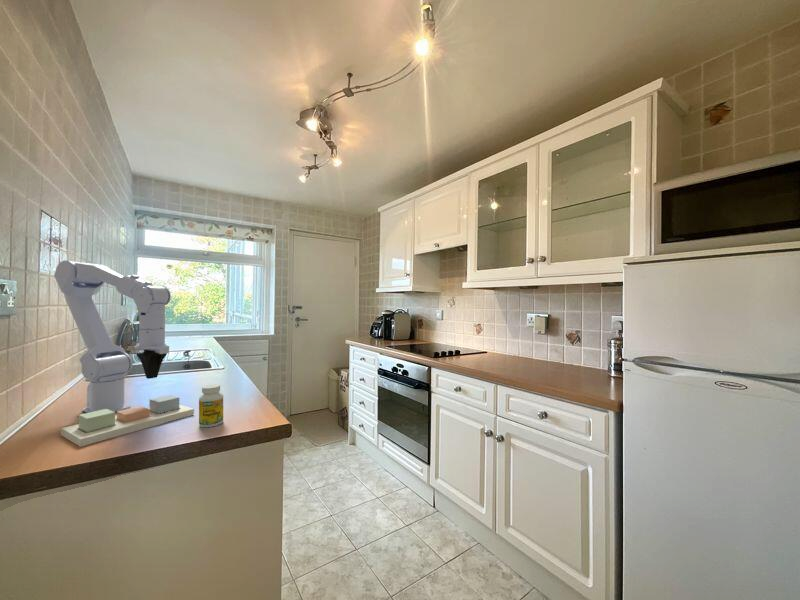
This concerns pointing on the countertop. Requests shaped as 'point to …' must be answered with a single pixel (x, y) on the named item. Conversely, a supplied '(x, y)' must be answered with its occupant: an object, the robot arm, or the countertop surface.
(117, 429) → the panel
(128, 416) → the terracotta button
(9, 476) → the countertop surface
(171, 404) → the slate button
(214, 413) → the supplement bottle
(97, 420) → the sage button
